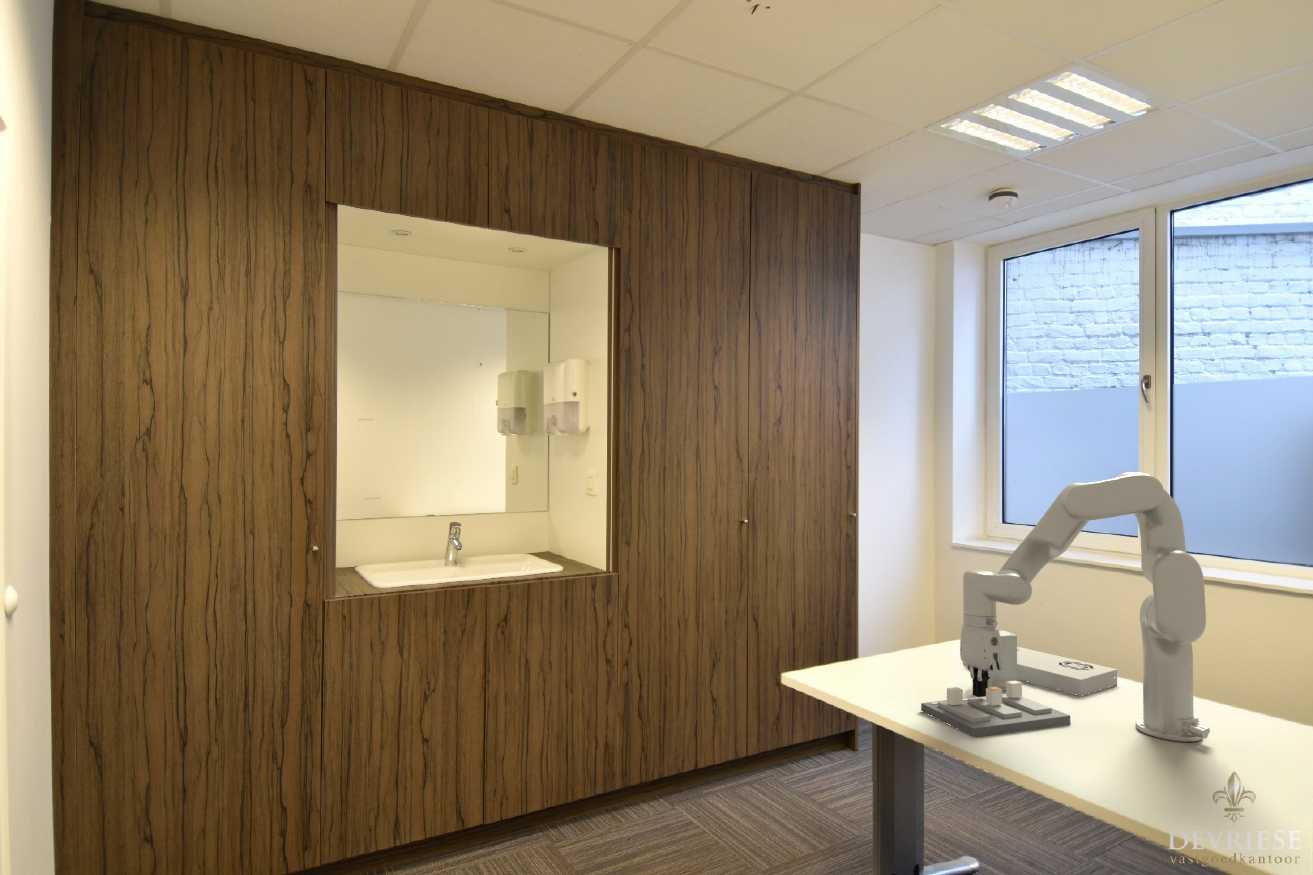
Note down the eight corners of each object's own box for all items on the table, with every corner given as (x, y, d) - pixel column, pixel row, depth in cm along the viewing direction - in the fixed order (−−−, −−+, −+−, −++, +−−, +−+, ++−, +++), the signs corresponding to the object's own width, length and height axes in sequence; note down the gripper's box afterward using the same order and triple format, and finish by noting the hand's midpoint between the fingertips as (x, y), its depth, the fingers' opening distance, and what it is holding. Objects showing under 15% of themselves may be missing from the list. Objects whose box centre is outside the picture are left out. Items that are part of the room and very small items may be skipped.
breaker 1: (962, 704, 180) (962, 689, 180) (952, 705, 179) (952, 690, 179) (956, 701, 182) (956, 686, 182) (946, 702, 181) (946, 688, 181)
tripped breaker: (1002, 704, 180) (1002, 688, 180) (992, 705, 179) (992, 689, 179) (995, 701, 182) (995, 686, 182) (986, 702, 181) (985, 687, 181)
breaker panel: (1070, 723, 176) (1070, 711, 176) (973, 737, 167) (973, 723, 167) (1011, 700, 193) (1011, 688, 193) (921, 711, 184) (921, 699, 184)
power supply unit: (1006, 659, 235) (1006, 643, 235) (1117, 687, 207) (1117, 669, 207) (969, 668, 225) (969, 652, 225) (1081, 698, 197) (1081, 679, 197)
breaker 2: (1022, 696, 185) (1021, 682, 186) (1012, 698, 184) (1012, 683, 185) (1015, 694, 187) (1015, 680, 187) (1006, 695, 186) (1006, 681, 186)
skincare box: (1004, 683, 208) (1003, 629, 208) (1018, 689, 202) (1018, 634, 202) (977, 684, 206) (977, 630, 207) (991, 691, 200) (991, 635, 201)
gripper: (1015, 626, 179) (1015, 703, 179) (970, 614, 193) (970, 685, 193) (989, 628, 177) (990, 706, 176) (946, 615, 191) (946, 688, 190)
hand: (980, 695), depth 185 cm, fingers closed
